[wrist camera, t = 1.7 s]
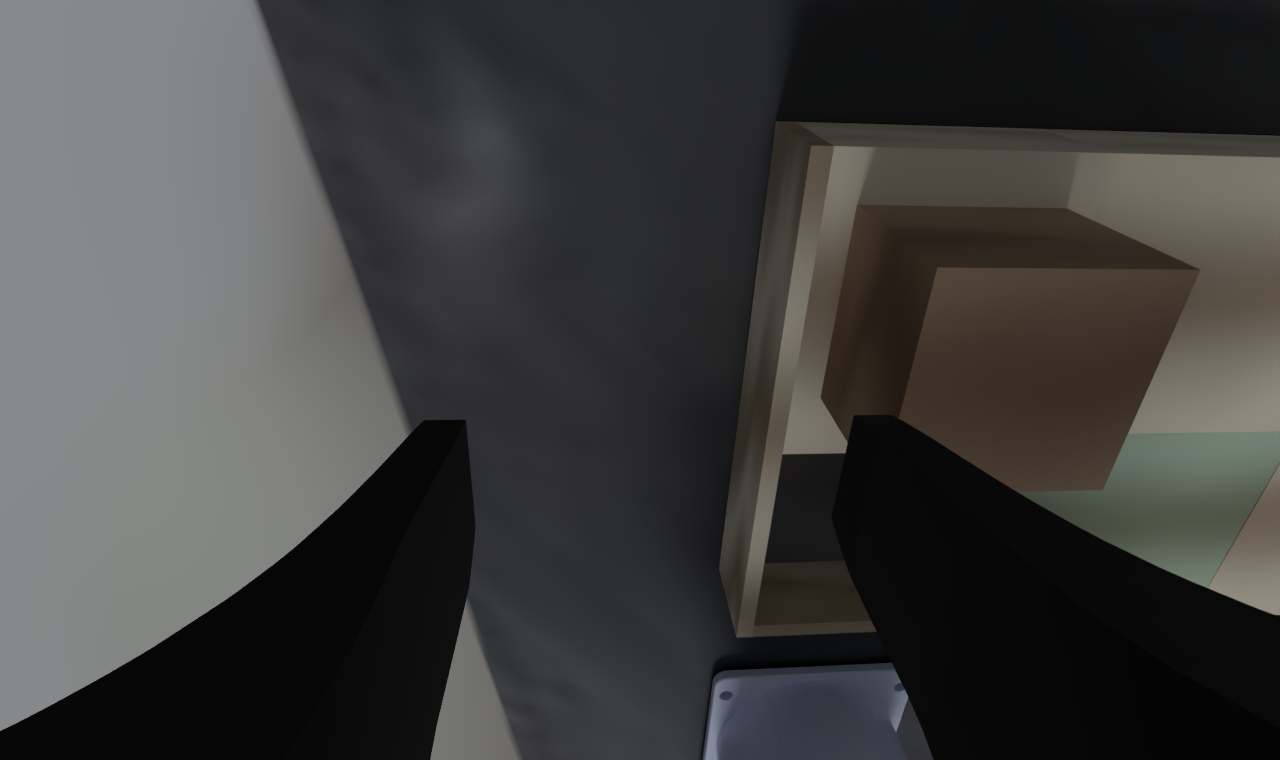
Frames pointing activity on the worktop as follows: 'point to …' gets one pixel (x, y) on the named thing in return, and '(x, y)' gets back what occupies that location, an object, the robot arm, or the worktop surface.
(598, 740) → the worktop surface
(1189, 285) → the walnut block
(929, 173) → the trap board
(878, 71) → the worktop surface
